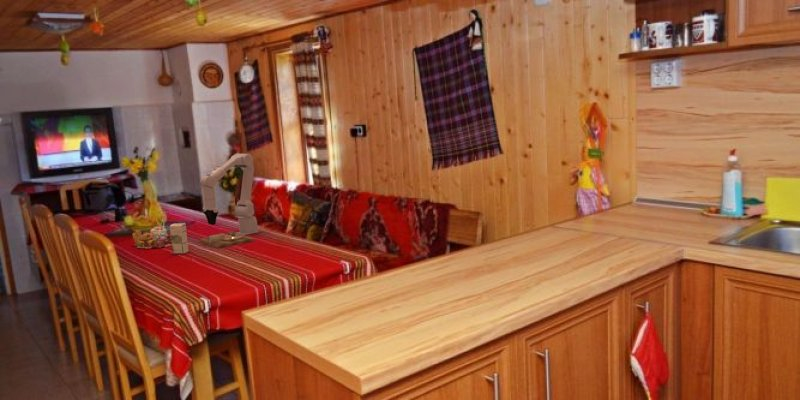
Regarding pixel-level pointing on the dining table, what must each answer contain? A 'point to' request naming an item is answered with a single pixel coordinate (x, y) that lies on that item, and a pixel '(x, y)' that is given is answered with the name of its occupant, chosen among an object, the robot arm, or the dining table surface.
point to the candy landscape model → (153, 238)
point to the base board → (227, 242)
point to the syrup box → (179, 238)
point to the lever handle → (224, 237)
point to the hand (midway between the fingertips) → (212, 224)
